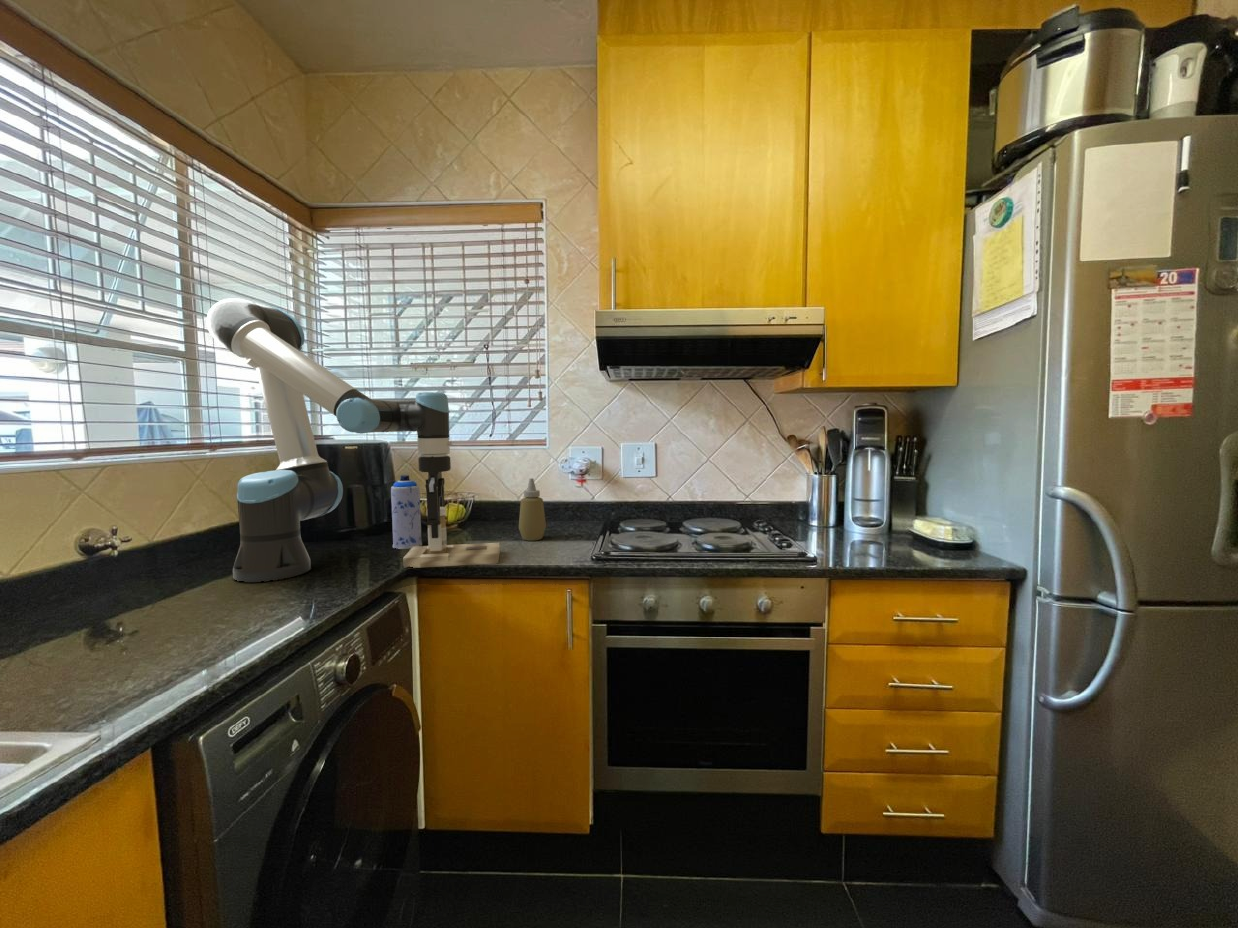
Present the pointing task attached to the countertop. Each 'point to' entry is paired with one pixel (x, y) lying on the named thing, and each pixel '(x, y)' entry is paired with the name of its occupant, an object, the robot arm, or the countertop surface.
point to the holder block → (453, 555)
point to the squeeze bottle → (532, 514)
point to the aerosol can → (406, 513)
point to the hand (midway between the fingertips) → (437, 547)
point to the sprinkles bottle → (443, 533)
